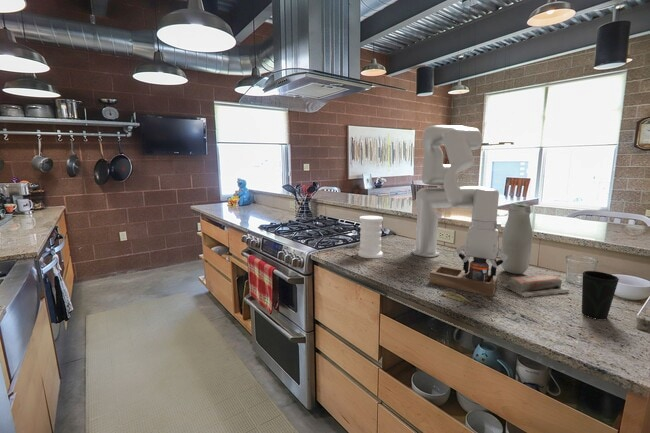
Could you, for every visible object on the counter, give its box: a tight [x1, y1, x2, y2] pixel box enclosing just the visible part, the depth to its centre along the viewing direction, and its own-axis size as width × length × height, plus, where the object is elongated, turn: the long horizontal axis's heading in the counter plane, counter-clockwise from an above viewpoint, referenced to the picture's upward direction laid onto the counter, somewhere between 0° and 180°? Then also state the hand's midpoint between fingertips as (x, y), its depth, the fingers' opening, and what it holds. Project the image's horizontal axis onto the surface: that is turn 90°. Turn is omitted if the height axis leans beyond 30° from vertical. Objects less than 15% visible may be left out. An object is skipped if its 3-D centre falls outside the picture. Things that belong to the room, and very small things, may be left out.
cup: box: [581, 270, 620, 320], centre depth 90 cm, size 8×8×12 cm
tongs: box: [441, 291, 483, 309], centre depth 101 cm, size 4×13×2 cm, turn 41°
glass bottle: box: [500, 202, 534, 275], centre depth 123 cm, size 10×10×28 cm
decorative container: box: [357, 215, 384, 259], centre depth 148 cm, size 12×12×18 cm
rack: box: [428, 264, 498, 298], centre depth 113 cm, size 11×21×4 cm, turn 56°
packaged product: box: [501, 274, 570, 298], centre depth 109 cm, size 18×5×10 cm
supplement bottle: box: [469, 257, 490, 282], centre depth 110 cm, size 6×6×11 cm
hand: (478, 274), depth 110 cm, fingers open, 7 cm apart
